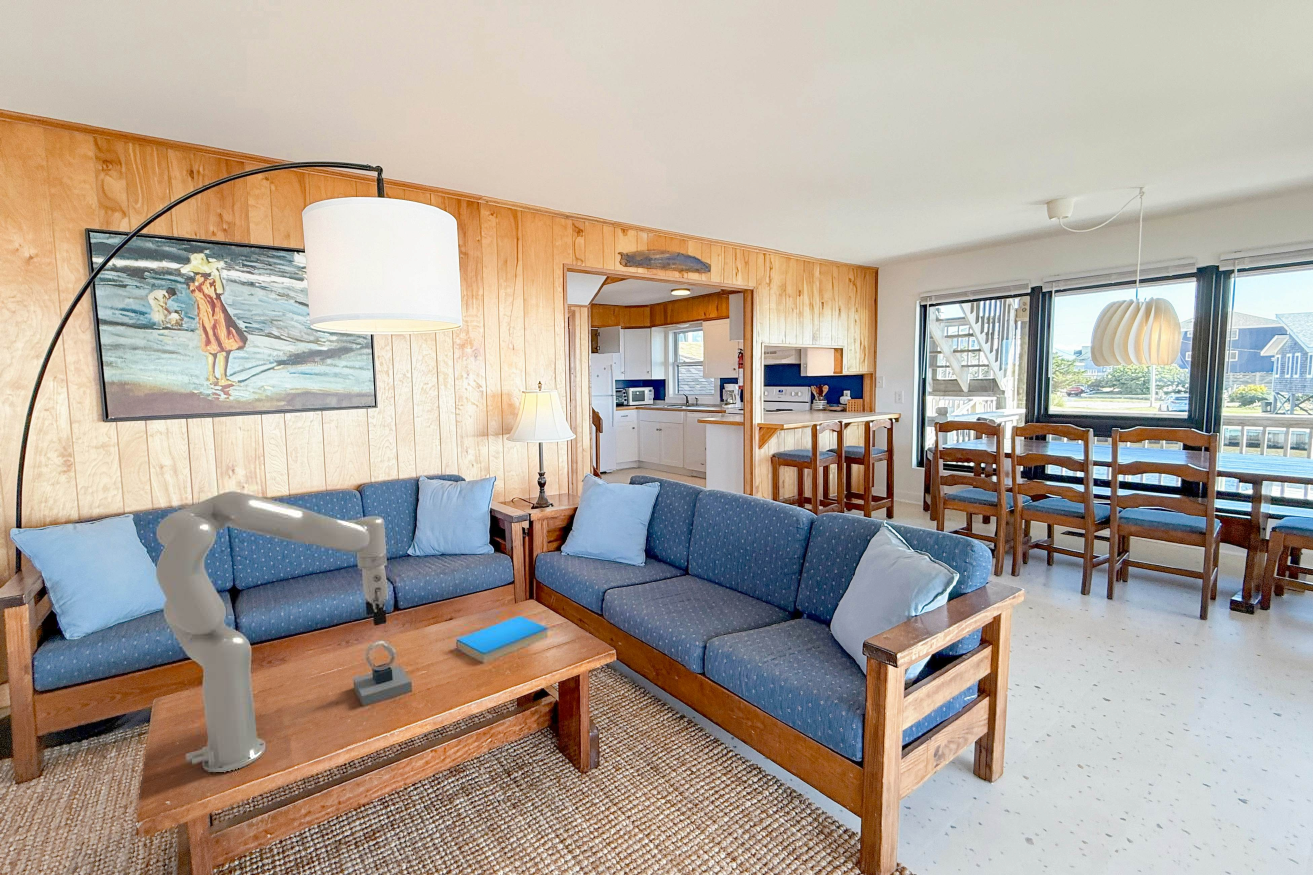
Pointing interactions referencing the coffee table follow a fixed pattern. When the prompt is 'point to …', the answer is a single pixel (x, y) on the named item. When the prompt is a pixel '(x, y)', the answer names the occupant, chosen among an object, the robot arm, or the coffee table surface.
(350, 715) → the coffee table surface
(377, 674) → the watch
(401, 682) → the plinth
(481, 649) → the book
